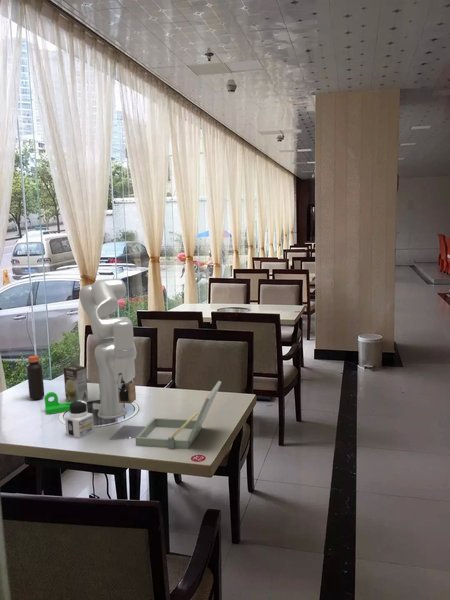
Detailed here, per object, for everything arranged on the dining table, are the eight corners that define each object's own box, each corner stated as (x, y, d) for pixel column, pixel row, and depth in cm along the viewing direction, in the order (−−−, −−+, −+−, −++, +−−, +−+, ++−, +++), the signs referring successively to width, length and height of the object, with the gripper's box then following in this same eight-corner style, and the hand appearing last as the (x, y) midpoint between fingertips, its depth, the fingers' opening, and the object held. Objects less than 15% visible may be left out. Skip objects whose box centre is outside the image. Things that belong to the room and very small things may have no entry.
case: (134, 448, 193) (131, 395, 190) (154, 426, 214) (151, 378, 211) (210, 453, 187) (208, 399, 184) (223, 429, 208) (221, 380, 205)
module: (118, 402, 202) (117, 383, 201) (124, 398, 207) (122, 380, 206) (131, 403, 201) (129, 384, 200) (136, 399, 206) (134, 380, 205)
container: (79, 439, 203) (77, 407, 201) (66, 435, 207) (63, 403, 205) (94, 432, 209) (92, 400, 207) (80, 428, 213) (78, 397, 211)
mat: (108, 440, 201) (108, 439, 201) (123, 426, 214) (123, 425, 214) (136, 442, 198) (136, 441, 198) (148, 427, 212) (148, 426, 212)
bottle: (41, 399, 251) (38, 358, 248) (27, 399, 251) (23, 358, 248) (46, 394, 257) (43, 354, 254) (32, 394, 257) (29, 355, 254)
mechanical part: (46, 414, 231) (45, 397, 230) (45, 410, 236) (44, 393, 235) (75, 409, 236) (73, 392, 235) (73, 405, 241) (71, 388, 240)
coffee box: (65, 400, 247) (62, 367, 245) (75, 396, 253) (73, 364, 250) (78, 404, 242) (76, 370, 240) (89, 399, 248) (86, 366, 245)
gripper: (124, 347, 210) (126, 391, 213) (105, 358, 194) (109, 405, 197) (141, 347, 209) (144, 391, 211) (125, 358, 192) (128, 406, 195)
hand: (127, 397), depth 204 cm, fingers closed on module, 5 cm apart
